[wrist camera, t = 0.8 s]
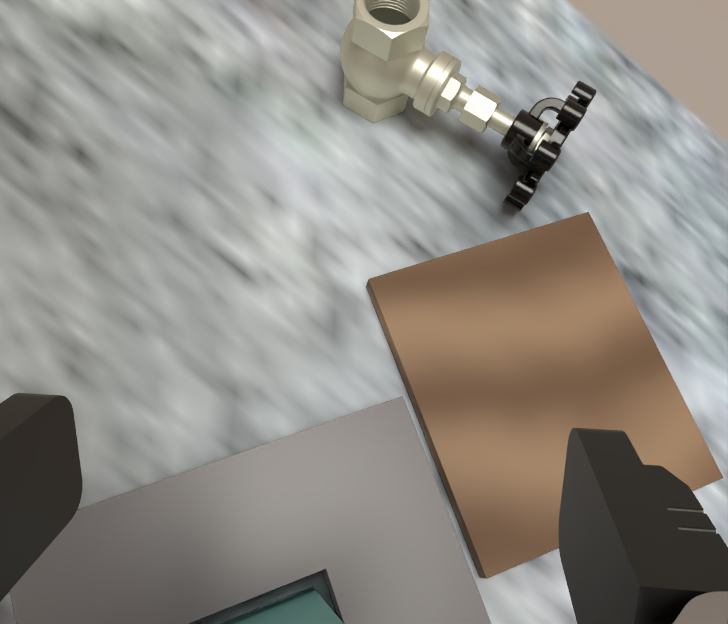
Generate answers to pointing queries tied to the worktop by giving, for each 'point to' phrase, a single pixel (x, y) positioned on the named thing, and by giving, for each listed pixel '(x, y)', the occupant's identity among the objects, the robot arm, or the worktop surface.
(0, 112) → the worktop surface
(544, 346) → the board
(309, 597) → the plug
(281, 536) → the grey square socket plate
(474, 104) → the valve
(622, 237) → the worktop surface
